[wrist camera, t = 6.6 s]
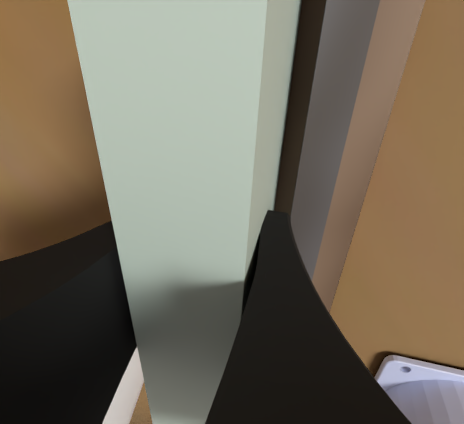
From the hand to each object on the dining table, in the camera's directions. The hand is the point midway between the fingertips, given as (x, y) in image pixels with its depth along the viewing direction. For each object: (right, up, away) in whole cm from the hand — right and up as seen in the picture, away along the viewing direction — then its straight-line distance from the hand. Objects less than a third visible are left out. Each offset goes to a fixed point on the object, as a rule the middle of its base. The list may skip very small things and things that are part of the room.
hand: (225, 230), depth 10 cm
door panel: (+1, +2, +3) cm, 3 cm away
